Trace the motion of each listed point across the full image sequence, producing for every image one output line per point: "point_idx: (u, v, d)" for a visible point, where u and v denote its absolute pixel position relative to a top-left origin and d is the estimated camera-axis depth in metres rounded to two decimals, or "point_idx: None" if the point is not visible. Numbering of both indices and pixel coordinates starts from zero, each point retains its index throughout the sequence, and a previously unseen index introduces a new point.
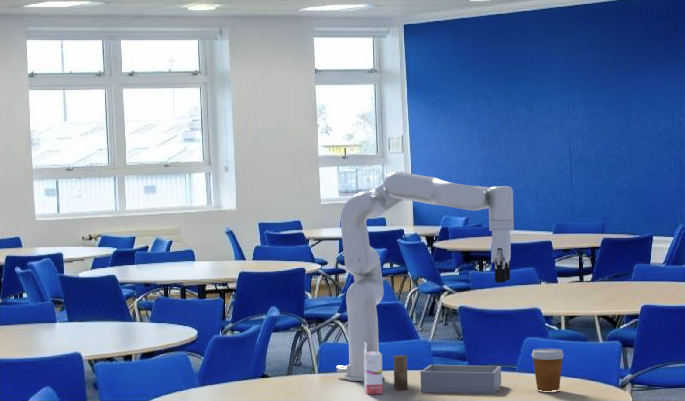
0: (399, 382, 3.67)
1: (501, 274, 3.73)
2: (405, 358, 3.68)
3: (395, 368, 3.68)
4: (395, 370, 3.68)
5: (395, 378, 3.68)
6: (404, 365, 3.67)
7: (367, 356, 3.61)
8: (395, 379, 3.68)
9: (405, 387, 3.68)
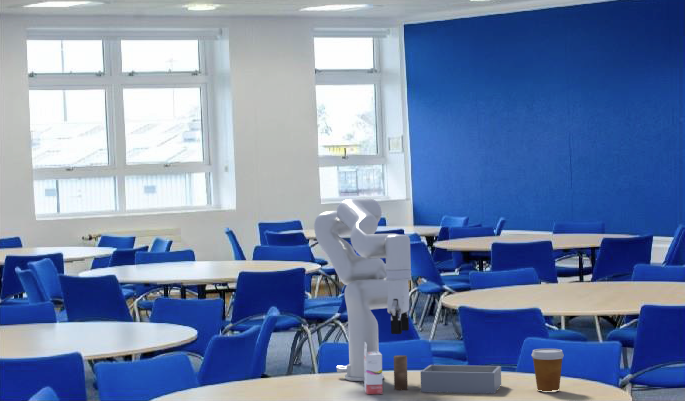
0: (399, 382, 3.67)
1: (397, 325, 3.63)
2: (405, 358, 3.68)
3: (395, 368, 3.68)
4: (395, 370, 3.68)
5: (395, 378, 3.68)
6: (404, 365, 3.67)
7: (367, 356, 3.61)
8: (395, 379, 3.68)
9: (405, 387, 3.68)
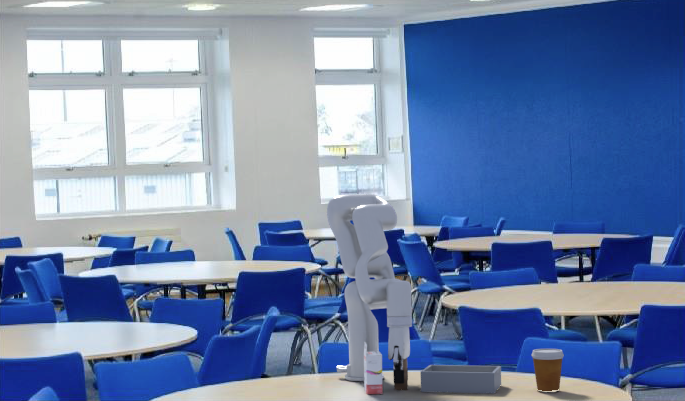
0: None
1: (399, 375, 3.66)
2: None
3: None
4: None
5: None
6: (404, 365, 3.67)
7: (367, 356, 3.61)
8: None
9: (405, 387, 3.68)
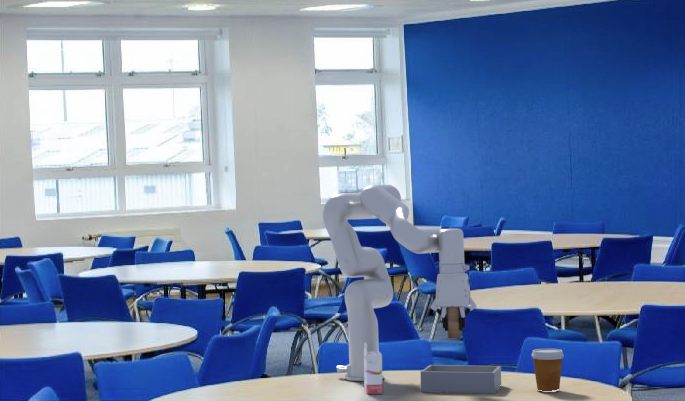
0: None
1: None
2: None
3: None
4: None
5: None
6: (448, 313, 3.66)
7: (367, 356, 3.61)
8: None
9: (450, 335, 3.66)
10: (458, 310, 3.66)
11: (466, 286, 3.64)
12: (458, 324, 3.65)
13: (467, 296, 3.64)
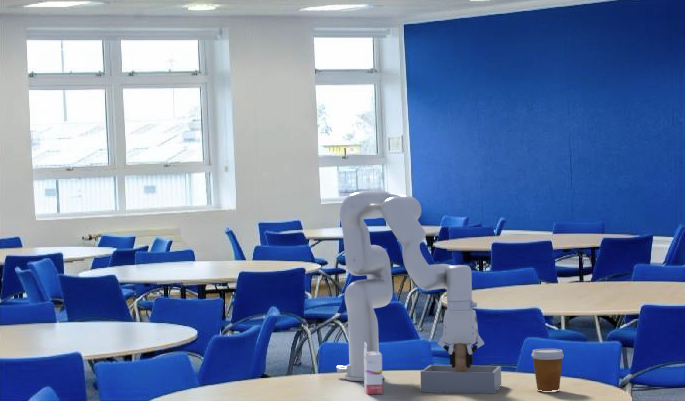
0: None
1: (450, 359, 3.67)
2: None
3: None
4: None
5: None
6: (456, 350, 3.66)
7: (367, 356, 3.61)
8: None
9: None
10: (465, 347, 3.65)
11: (473, 323, 3.64)
12: (465, 361, 3.65)
13: (474, 333, 3.64)
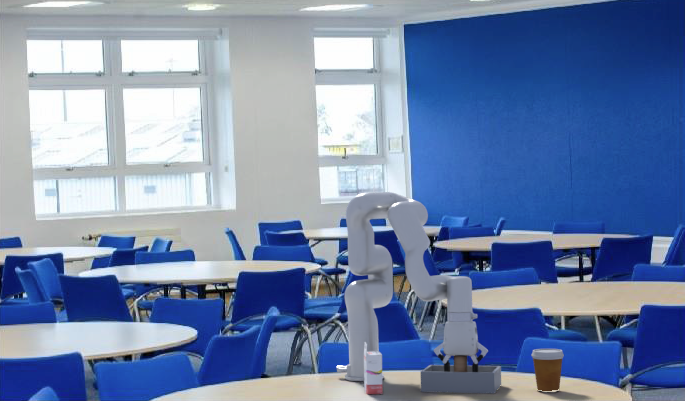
0: None
1: (444, 368, 3.68)
2: (456, 358, 3.66)
3: None
4: None
5: None
6: (455, 365, 3.66)
7: (367, 356, 3.61)
8: None
9: None
10: (465, 362, 3.66)
11: (473, 335, 3.64)
12: None
13: (474, 345, 3.64)
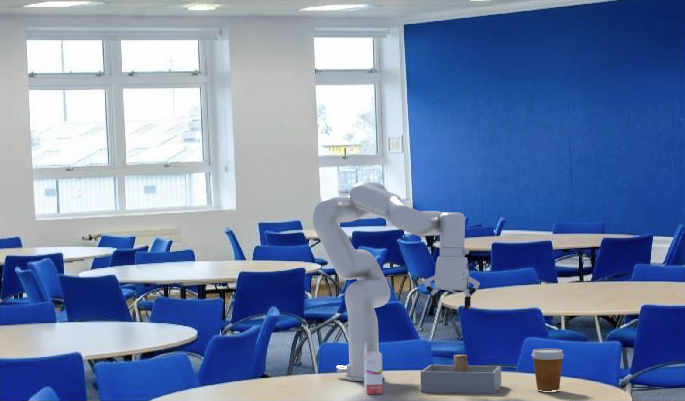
0: None
1: (432, 299, 3.74)
2: (456, 358, 3.66)
3: None
4: None
5: None
6: (455, 365, 3.66)
7: (367, 356, 3.61)
8: None
9: None
10: (465, 362, 3.66)
11: (464, 270, 3.70)
12: None
13: (465, 280, 3.70)
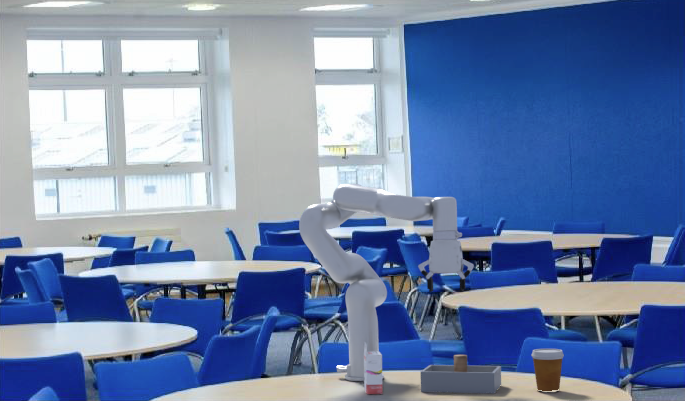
0: None
1: None
2: (456, 358, 3.66)
3: None
4: None
5: None
6: (455, 365, 3.66)
7: (367, 356, 3.61)
8: None
9: None
10: (465, 362, 3.66)
11: (458, 252, 3.76)
12: None
13: (459, 262, 3.76)
